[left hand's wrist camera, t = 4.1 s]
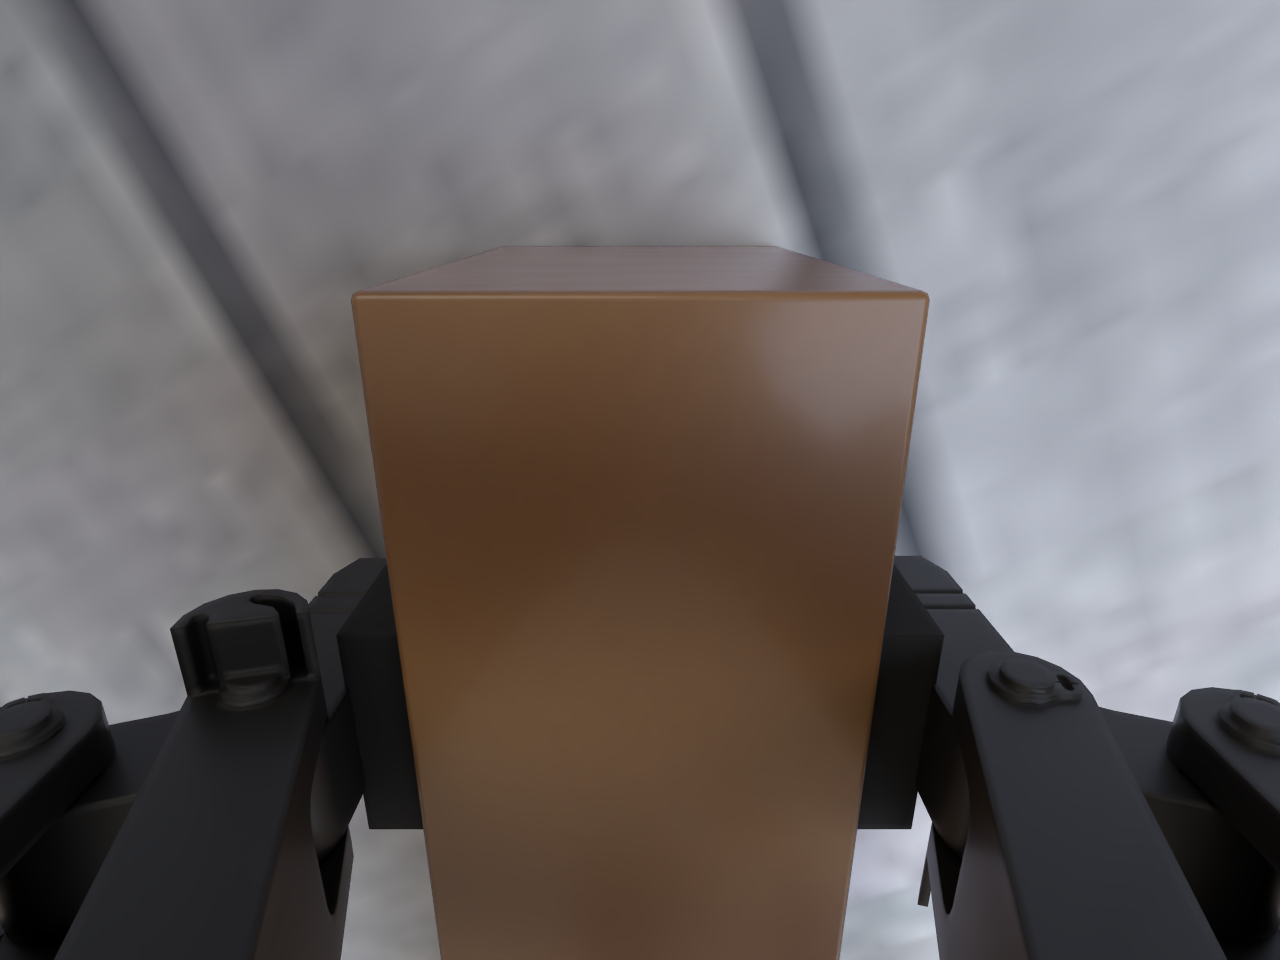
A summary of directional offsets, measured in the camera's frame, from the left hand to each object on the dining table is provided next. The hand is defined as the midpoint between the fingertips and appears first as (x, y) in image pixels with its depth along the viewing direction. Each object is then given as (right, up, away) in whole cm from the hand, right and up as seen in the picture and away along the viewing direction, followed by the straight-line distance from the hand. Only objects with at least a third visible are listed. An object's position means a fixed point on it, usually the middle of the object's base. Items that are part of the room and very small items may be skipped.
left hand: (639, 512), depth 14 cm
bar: (0, -20, +8) cm, 21 cm away
